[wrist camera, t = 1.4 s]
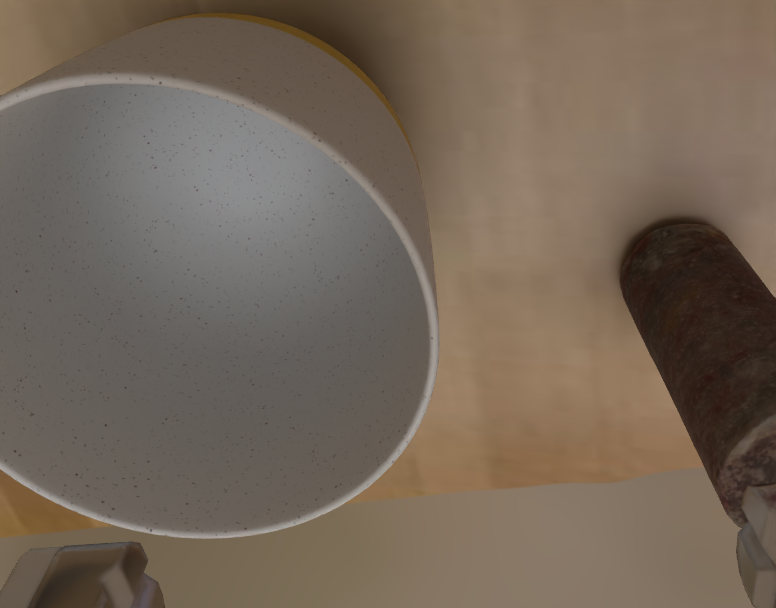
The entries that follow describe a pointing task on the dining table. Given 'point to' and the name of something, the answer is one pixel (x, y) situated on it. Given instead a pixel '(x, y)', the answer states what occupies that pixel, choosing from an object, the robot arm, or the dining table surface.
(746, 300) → the dark brown cylinder
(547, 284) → the dining table surface
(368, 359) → the planter
